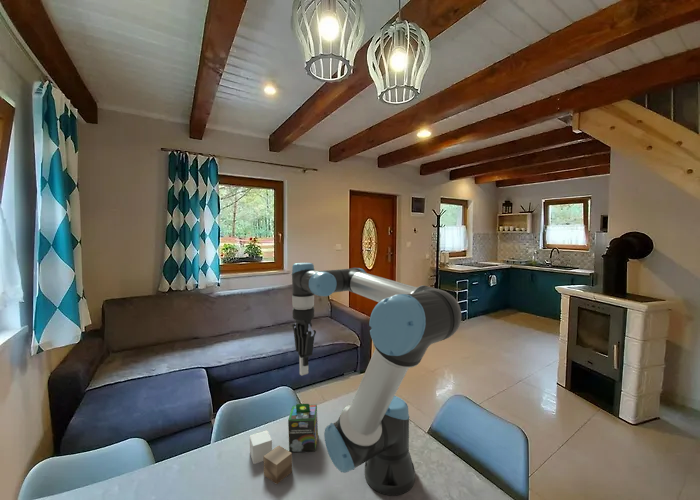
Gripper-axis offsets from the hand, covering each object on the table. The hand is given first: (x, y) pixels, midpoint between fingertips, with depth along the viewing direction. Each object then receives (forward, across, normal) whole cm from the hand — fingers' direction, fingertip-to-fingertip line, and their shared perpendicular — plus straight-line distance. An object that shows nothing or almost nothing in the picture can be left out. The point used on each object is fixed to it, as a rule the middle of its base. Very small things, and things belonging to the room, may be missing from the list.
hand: (304, 373), depth 105 cm
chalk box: (+25, 0, 0) cm, 25 cm away
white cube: (+25, +3, +15) cm, 29 cm away
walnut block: (+25, -8, +13) cm, 29 cm away
